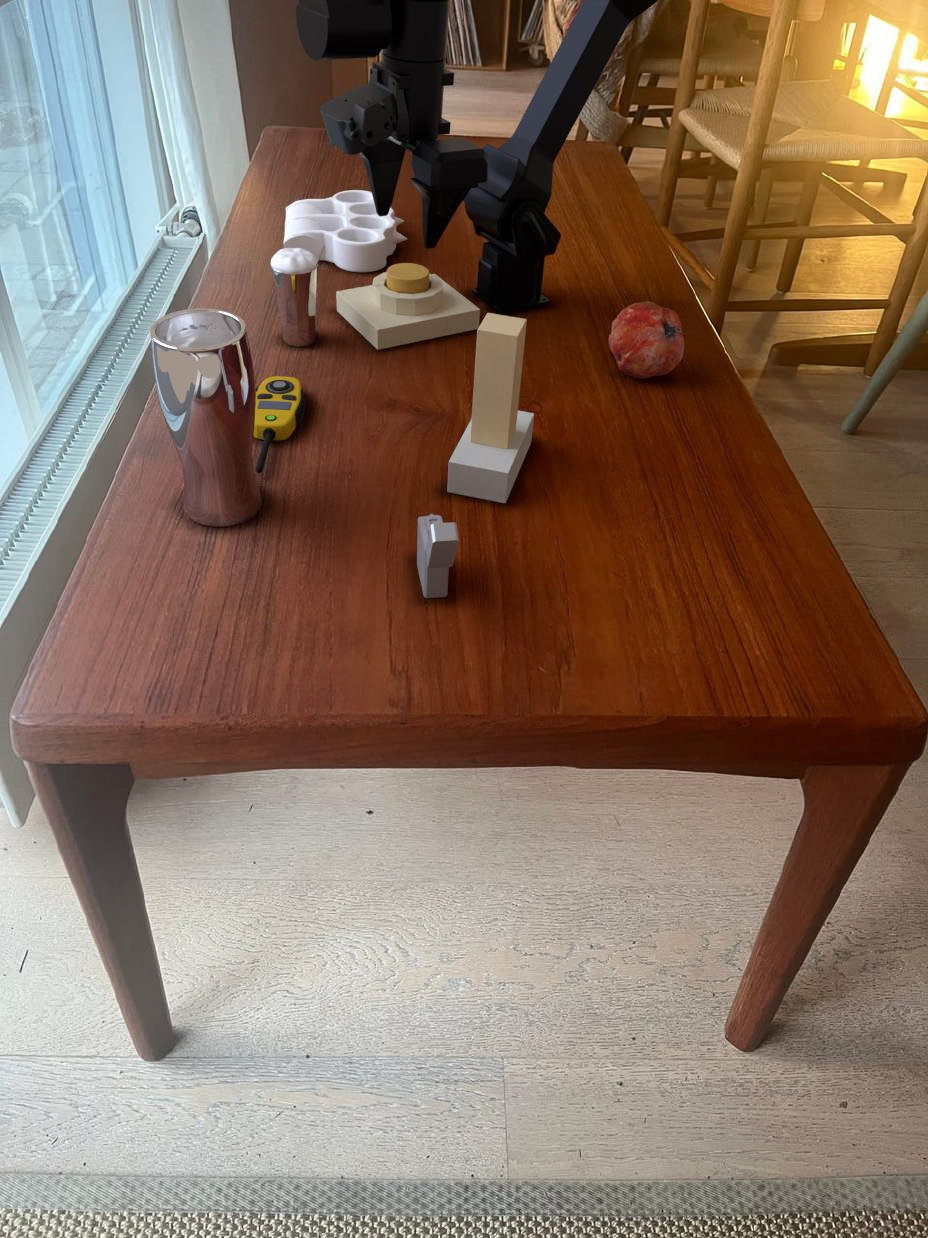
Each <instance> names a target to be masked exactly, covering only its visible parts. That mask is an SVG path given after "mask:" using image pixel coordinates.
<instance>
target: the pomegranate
mask: <svg viewBox="0 0 928 1238" xmlns="http://www.w3.org/2000/svg"><path fill="white" fill-rule="evenodd" d="M610 328H611V329H610V334H609V335H608V347H609V349H610V351H611V353H612V354H613V356H614V359H615V362H616V364H617V366H618V369H619V370H620V372H622V373H624V374H625V375H627V376H630V377H632V378H634V379H639V380H641V379H642V380H645V379H648V378H652V377H660V376H665V375H667V374H669V373H670V372H671V371H674V369H675V368H677V366H678V365H679V364H680V362H681V360H682V359H683V357H684V352H685V338H684V335H683V334H684V332H683V331H682V329H683V325H682V323H681V320H680V318H679V315H678V313H677V312H676V311H675V310H674V309H671V308H668V307H662V306H660V305H658V304H657V303H655V302H653V301H649V300H645V301H642V302H641V301H637V302H635V303H632V304H630V305H628V306H627V307H624V308H623V309H622V310H621V311H620V312H619V314H618V315H617V316H616V317H615V318H614V320H613V321H611V327H610Z"/></svg>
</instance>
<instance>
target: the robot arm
mask: <svg viewBox="0 0 928 1238" xmlns="http://www.w3.org/2000/svg"><path fill="white" fill-rule="evenodd" d="M450 2H451V0H298V4H296V5H295V20H296V21H295V23H296V29H297V34H298V38H299V42H300V44H301V46H302V49H303V51H304V53H305V54H306V56H307V57H308V58H309V59H310V60H312V61H331V60H350V59H365V58H366V59H369V58H372V59H373V58H376V57H378V56H379V54H380V53H381V61H373V62H372V66H371V67H370V68H369V79H368V83H367V84H363V85H362V86H360V87H355V88H353V89H351V90H348V91H346V92H344V93H342V94H340V95H339V96H337V97H335V98H333V99H331V100H329V101H327V102H325V103H324V104H322V105H321V106H320V108H319V111H320V114H321V117H322V120H323V123H324V124H323V125H324V127H325V130H326V133H327V136H328V140H329V142H330V144H331V145H332V146H334V147H335V146H336V147H338V148H339V149H340V150H342V151H343V153H344V154H346V155H349V156H355V155H360V157H361V159H362V163H363V167H364V169H365V172H366V176H367V179H368V184H369V189H370V192H372V196H373V200H374V204H375V208H376V212H377V215H379V216H387V215H388V213H389V210H390V207H391V208H392V204H393V201H394V198H395V193H396V189H397V185H398V182H399V179H400V174H401V171H402V166H403V162H404V158H405V155H406V151H408V152H410V153H411V162H410V166H411V169H412V172H413V175H414V177H410V178H409V180H410V182H411V184H413V186H414V188H416V190H417V191H418V192H419V193H420V196H421V225H422V226H421V227H422V229H421V230H422V241H423V247H424V248H425V249H426V250H430V249H431V250H432V249H435V248H436V247H437V245H438V243H439V242H440V239H441V238H442V237H443V234H444V232H445V231H446V229H447V228H448V225H449V224H450V223H451V220H452V219H453V217H454V215H455V213H456V212H457V210H458V208H459V207H460V205H461V204H462V202H463V203H464V211H465V213H466V215H467V218H468V219H469V220H470V221H471V223H472V225H473V230H474V233H475V235H477V237H482V238H483V239H484V240H486V241H485V242H482V252H481V257H480V258H479V259H478V263H477V279H476V281H477V283H476V286H475V287H472V292H471V293H472V294H473V295H474V296H476V297H477V298H479V300H481V301H482V302H484V304H486V305H487V306H489V307H490V308H491V309H493V310H494V311H496V313H498V314H499V315H505V314H510V313H514V312H519V311H524V310H529V309H534V308H538V307H543V306H548V305H549V299H548V298H547V297H546V296H545V295H543V294H542V289H543V279H544V278H543V277H544V269H545V260H546V257H548V256H551V255H552V256H553V255H555V253H556V251H557V248H558V246H559V243H560V240H561V238H562V233H561V231H559V229H558V228H557V227H556V226H555V225H554V223H553V222H552V220H550V219H549V217H548V216H547V215H546V214H545V213H546V210H547V208H548V205H549V202H550V200H551V197H552V193H553V176H554V164H555V161H556V159H557V157H558V155H559V153H560V152H561V150H562V147H564V144H565V142H566V140H567V139H568V136H569V135H570V133H571V131H572V129H573V127H574V126H575V124H576V122H577V120H578V119H579V117H580V115H581V113H582V111H583V109H584V107H585V105H586V103H587V102H588V100H589V98H590V96H591V94H592V92H593V90H594V89H595V87H596V85H597V83H598V82H599V79H600V77H601V76H602V74H603V72H604V70H605V68H606V67H607V65H608V63H609V61H610V59H611V57H612V55H613V54H614V52H615V50H616V48H617V46H618V45H619V42H620V41H621V39H622V37H623V35H624V33H625V32H626V30H627V28H628V27H629V25H630V24H631V23H632V22H633V21H634V20H636V19H637V18H638V17H639V16H641V15H642V14H644V12H646V11H647V10H649V9H650V8H651V7H652V6H654V5H655V4H656V3H657V2H659V0H583V1H582V2H581V4H580V7H579V8H578V10H577V12H576V14H575V16H574V18H573V20H572V22H571V24H570V25H569V28H568V29H567V31H566V32H565V35H564V37H563V38H562V41H561V42H560V44H559V47H558V48H557V50H556V52H555V54H554V56H553V58H552V59H551V61H550V63H549V66H548V67H547V69H546V71H545V73H544V75H543V77H542V79H541V80H540V83H539V85H538V86H537V88H536V90H535V93H533V95H532V98H531V100H530V102H529V104H528V105H527V108H526V109H525V111H524V114H523V115H522V116H521V119H520V121H519V123H518V125H517V127H516V128H515V130H514V132H513V134H512V135H511V136H510V138H509V139H508V140H506V141H505V142H504V143H503V144H501V145H499V146H498V147H496V146H493V145H492V144H490V143H485V144H484V145H483V147H481V146H478V145H477V144H475V143H473V142H472V141H469V140H467V139H466V138H464V137H453V138H452V137H451V138H445V139H444V138H442V139H438V137H439V136H443V135H450V134H451V121H449V120H448V119H445V118H444V117H443V105H444V93H445V92H444V91H445V87H448V86H454V83H455V82H454V81H455V72H453V71H452V70H449V69H447V68H446V64H447V63H446V61H447V47H448V46H447V45H448V33H449V32H448V31H449V17H450V15H449V14H450V4H451V3H450Z"/></svg>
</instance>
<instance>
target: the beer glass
mask: <svg viewBox="0 0 928 1238" xmlns="http://www.w3.org/2000/svg"><path fill="white" fill-rule="evenodd" d="M149 335H150V339H151V340H150V341H151V350H152V352H151V353H152V362H153V373H154V381H155V387H156V392H157V396H158V401H159V404H160V405H159V406H160V408H161V411H162V415H163V417H164V420H165V421H164V422H165V424H166V426H167V429H168V431H169V434H170V437H171V439H172V442H173V444H174V447H175V450H176V452H177V455H178V458H179V461H180V464H181V467H182V468H181V469H182V473H183V500H182V501H183V510H184V513H185V514H186V516H187V517H188V518H189V519H190V520H192V521H194V522H196V523H197V524H200V525H203V526H205V527H214V528H223V527H224V528H225V527H231V526H236V525H240V524H242V523H244V522H247V521H249V520H251V518H253V517H254V516H256V515H257V513H259V511H260V509H261V507H262V502H263V501H262V494H261V491H260V488H259V485H258V482H257V478H256V475H255V472H254V466H253V445H254V425H255V412H256V377H255V370H254V363H253V358H252V353H251V348H250V342H249V337H248V333H247V323H246V322H245V321H244V319H243V318H241V317H240V316H238V315H237V314H235V313H233V312H231V311H227V310H222V309H218V308H208V307H207V308H206V307H200V308H196V307H195V308H188V309H181V310H178V311H177V310H176V311H173V312H170V313H167V314H165V315H163V316H161V317H159V318H158V319H157V320H156V321H154V322H153V323H152V325H151V327H150V329H149Z"/></svg>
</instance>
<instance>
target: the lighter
mask: <svg viewBox="0 0 928 1238" xmlns="http://www.w3.org/2000/svg"><path fill="white" fill-rule="evenodd" d="M416 542H417V543H416V544H417V545H416V565H417V566H416V567H417V570H418V571H417V572H418V577H419V580H420V587H421V590H422V595H423V598H425V599H435V598H436V599H437V598H446V597H447V596H448V592H449V590H448V589H449V574H450V573H449V571H450V568H451V567H453V566H454V562H455V558H456V554H457V550H458V547H459V542H460V539H459V531H458V525H457V523H456V522H454V521H453V522H452V521H451V522H444V521H443V517H442V516H441V515H438V514H434V513H430V514H429V515H425V516H419V517H417V538H416Z"/></svg>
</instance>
